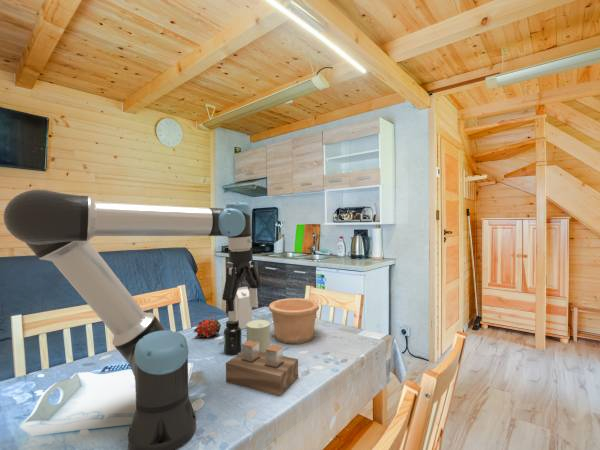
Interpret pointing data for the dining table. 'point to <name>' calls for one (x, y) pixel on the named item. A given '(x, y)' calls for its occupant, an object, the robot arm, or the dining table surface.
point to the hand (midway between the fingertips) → (244, 313)
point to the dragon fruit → (208, 328)
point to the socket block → (262, 374)
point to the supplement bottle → (232, 338)
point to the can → (259, 333)
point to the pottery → (294, 319)
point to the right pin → (274, 356)
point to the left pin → (250, 351)
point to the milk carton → (243, 307)
